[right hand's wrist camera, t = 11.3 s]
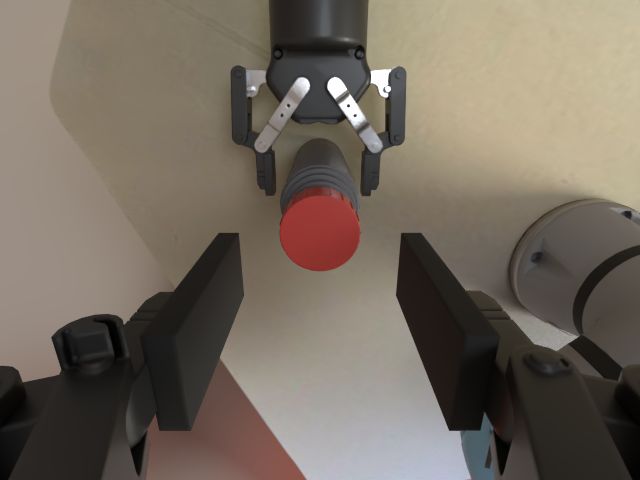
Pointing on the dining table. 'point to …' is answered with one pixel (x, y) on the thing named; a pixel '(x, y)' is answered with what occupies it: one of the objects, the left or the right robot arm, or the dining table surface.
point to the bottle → (320, 172)
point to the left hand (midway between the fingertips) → (318, 194)
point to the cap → (320, 229)
